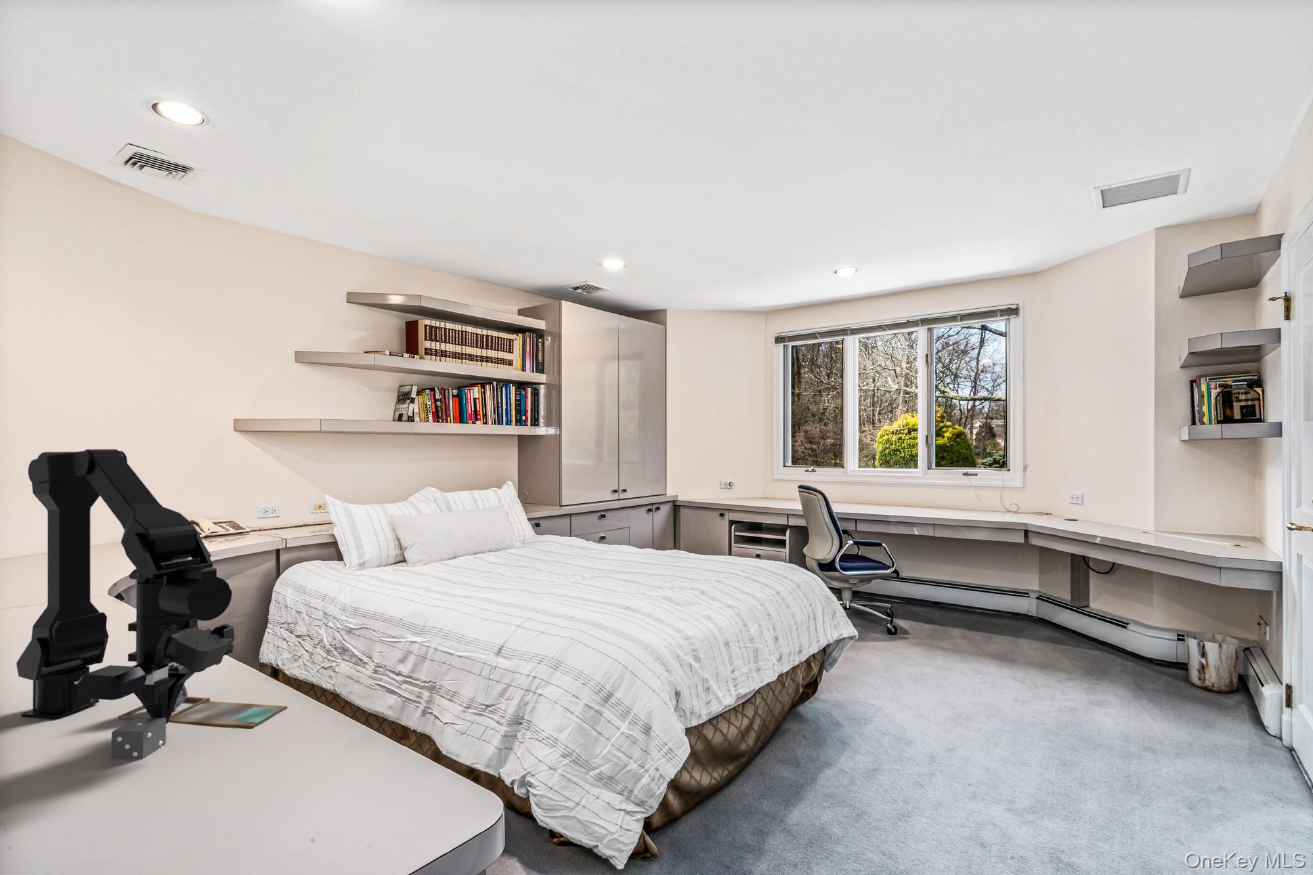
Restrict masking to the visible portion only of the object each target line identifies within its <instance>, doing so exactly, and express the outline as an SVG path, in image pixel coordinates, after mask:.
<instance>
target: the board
mask: <svg viewBox="0 0 1313 875" xmlns="http://www.w3.org/2000/svg"><path fill="white" fill-rule="evenodd" d="M286 709H288V705H278V704H277V705H275V704H273V705H272V704H259V703H258V704H257V703H245V702H242V703H241V702H229V701H227V702H226V701H211V700H210V701H207V702H205V703H202V704H200V705H198V706H196V707H194V708H192V709H190V710H188V711H186V712H184V713H182V714H180V715H178V716H176V717H174V718H172V719H169V722H168V723H179V724H189V725H203V724H204V725H205V726H216V727H217V726H219V727H220V726H221V727H234V728H249V729H254V728H256V727H257V726H259V725H261V724H263V723H264V722H266V721H267V720H269V719H271V718H273V717H274V716H276V715H278V714H280V713H281V712H283V711H285V710H286ZM204 725H203V726H204Z"/></svg>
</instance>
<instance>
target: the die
mask: <svg viewBox="0 0 1313 875" xmlns="http://www.w3.org/2000/svg"><path fill="white" fill-rule="evenodd" d="M166 733H167V724H166V718H135V719H134V720H130V721H129V722H127V723H125V724H123V725H121V726H120V727H118V728H115V729H114V730H112V731H111V759H115V760H116V759H120V760H121V759H123V760H125V759H127V760H129V759H131V760H134V759H135V760H143V759H145V758H147V757H148V755H149V756H150V755H152V754H154V753H155V752H157V751H159V750H160V749H162V748H161V746H164V745H165V744H167V742H166V741H167V734H166ZM165 746H166V745H165ZM165 746H164V747H165ZM159 748H160V749H159ZM158 749H159V750H158ZM156 750H157V751H156ZM153 752H154V753H153Z"/></svg>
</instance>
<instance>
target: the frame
mask: <svg viewBox="0 0 1313 875" xmlns="http://www.w3.org/2000/svg"><path fill="white" fill-rule="evenodd" d="M207 701H211V698H210V697H202V696H201V697H199V696H187V698H186V699H185V700H184V701H183V703H184V702H188V703H194V704H191V705H189V706H187V707H185V708H183V709H181V710H179V711H177V712H175V713H173V714H171V716H170V719H172V718H174V717H176V716H178V715H180V714H182V713H184V712H186V711H188V710H190V709H192V708H194V707H196V706H198V705H200V704H202V703H205V702H207ZM144 710H146V709H145V707H144V706H143V704H141V705H140V706H138V707H136V708H134V709H132V710H129V711H126V712H125V713H122V714H121V715H118V716H117V719H119V720H120V719H121V720H130V721H132V720H134V719H135V718H151V716H142V715H141V716H140V715H133V714H135V713H138V712H140V711H144Z"/></svg>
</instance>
